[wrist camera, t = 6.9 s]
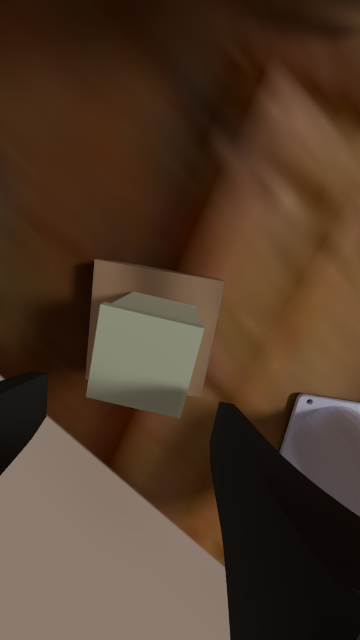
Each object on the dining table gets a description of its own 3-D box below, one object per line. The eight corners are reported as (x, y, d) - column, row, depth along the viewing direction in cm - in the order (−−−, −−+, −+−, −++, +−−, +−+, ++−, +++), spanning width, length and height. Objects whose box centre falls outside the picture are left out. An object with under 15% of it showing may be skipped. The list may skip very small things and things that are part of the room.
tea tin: (199, 304, 17) (204, 328, 11) (183, 366, 18) (180, 418, 12) (131, 288, 17) (100, 303, 11) (120, 351, 18) (86, 397, 12)
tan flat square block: (219, 278, 19) (225, 281, 17) (198, 378, 22) (201, 397, 19) (108, 259, 19) (94, 259, 16) (98, 362, 21) (85, 378, 18)
